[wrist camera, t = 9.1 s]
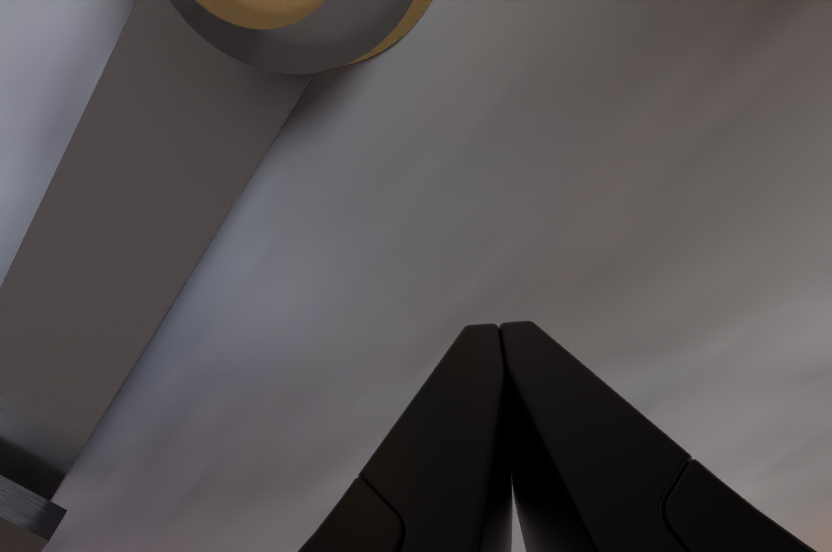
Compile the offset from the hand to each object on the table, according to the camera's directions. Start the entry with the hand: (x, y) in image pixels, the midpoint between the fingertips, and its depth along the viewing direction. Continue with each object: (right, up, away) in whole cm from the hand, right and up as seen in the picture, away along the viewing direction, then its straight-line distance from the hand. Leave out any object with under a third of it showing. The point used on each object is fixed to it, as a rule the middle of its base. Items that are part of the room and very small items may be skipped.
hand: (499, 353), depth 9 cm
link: (-9, +3, +12) cm, 15 cm away
